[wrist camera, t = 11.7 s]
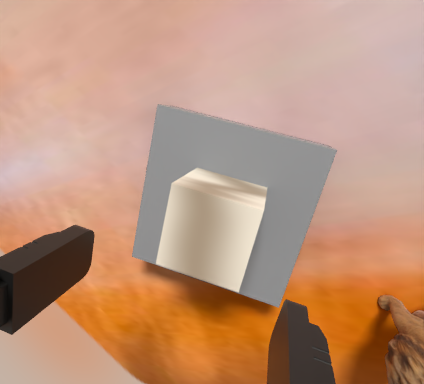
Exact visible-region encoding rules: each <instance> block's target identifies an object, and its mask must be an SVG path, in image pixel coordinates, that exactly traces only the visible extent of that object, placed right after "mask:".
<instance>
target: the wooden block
mask: <svg viewBox="0 0 424 384" xmlns="http://www.w3.org/2000/svg"><path fill="white" fill-rule="evenodd" d="M266 194H267V187H264V186H260V185H257V184H253V183H249V182H246V181H242V180H239V179H235V178H232V177H228V176H225V175H221V174H218V173H214V172H211V171H207V170H204V169H200V168H196V169H194V170H193V171H191V172H189V173H188V174H186V175H184V176H183V177H181V178H179V179H178V180H176V181H174V182H173V183H172V184H171V189H170V194H169V199H168V204H167V209H166V214H165V219H164V224H163V229H162V235H161V240H160V245H159V250H158V255H157V260H156V264H157V265H160V266H163V267H166V268H169V269H172V270H175V271H178V272H181V273H183V274H186V275H189V276H192V277H195V278H198V279H201V280H204V281H207V282H209V283H212V284H215V285H218V286H221V287H224V288H227V289H230V290H233V291H235V292H238V293H239V290H240V286H241V283H242V280H243V277H244V274H245V270H246V267H247V264H248V261H249V257H250V254H251V251H252V248H253V245H254V241H255V238H256V235H257V232H258V229H259V225H260V222H261V219H262V216H263V212H264V208H265V201H266Z"/></svg>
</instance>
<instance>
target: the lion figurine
mask: <svg viewBox="0 0 424 384" xmlns="http://www.w3.org/2000/svg"><path fill="white" fill-rule="evenodd" d="M378 303H379V306H380V307H381V308H382V309H384V310H386V311H388V310H390V311H391V314H392V318H393V321H394V324H395V326H396V327H397V329H398V331H399V334H396V335H395V336H394V339H391V341H390V342H389V343H388V350H389V352H388V353H387V354H386V355H385V363H386V367H387V378H388V384H424V311H421V310H418V311H415V312H414V313H412V314H411V313H410V312H409V311H408V310H407V309H406V308H405V307H404V305H403V303H402V302H401V301H400V300H398V299H396V298H395V297H393V296H390V295H382V296H380V297H379V299H378Z"/></svg>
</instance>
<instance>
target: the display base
mask: <svg viewBox="0 0 424 384" xmlns="http://www.w3.org/2000/svg"><path fill="white" fill-rule="evenodd" d="M336 152H337V150H336V149H334V148H332V147H330V146H328V145H324V144H320V143H316V142H312V141H308V140H304V139H300V138H296V137H292V136H288V135H284V134H280V133H276V132H273V131H269V130H265V129H261V128H257V127H253V126H249V125H245V124H241V123H237V122H233V121H229V120H225V119H222V118H218V117H214V116H210V115H206V114H202V113H198V112H194V111H190V110H186V109H182V108H178V107H174V106H168V105H159V104H158V106H157V112H156V118H155V123H154V129H153V135H152V141H151V147H150V153H149V159H148V165H147V171H146V177H145V182H144V188H143V194H142V200H141V206H140V212H139V218H138V224H137V230H136V236H135V242H134V247H133V253H132V257H135V258H138V259H141V260H144V261H146V262H149V263H152V264H155V265H157V264H156V260H157V255H158V250H159V245H160V240H161V235H162V229H163V224H164V219H165V214H166V209H167V204H168V199H169V194H170V189H171V184H172V183H173V182H174V181H176V180H178V179H179V178H181V177H183V176H184V175H186V174H188V173H189V172H191V171H193V170H194V169H196V168H200V169H204V170H207V171H211V172H214V173H218V174H221V175H225V176H228V177H232V178H235V179H239V180H242V181H246V182H249V183H253V184H257V185H260V186H264V187H267V194H266V201H265V208H264V212H263V216H262V219H261V222H260V225H259V229H258V232H257V235H256V238H255V241H254V245H253V248H252V251H251V254H250V257H249V261H248V264H247V267H246V270H245V274H244V277H243V280H242V283H241V286H240V290H239V293H238V292H236V293H238V294H241V295H244V296H247V297H250V298H253V299H256V300H259V301H261V302H264V303H267V304H270V305H273V306H276V307H279V305H280V303H281V300H282V297H283V295H284V292H285V289H286V287H287V284H288V281H289V278H290V276H291V273H292V270H293V268H294V265H295V262H296V260H297V257H298V254H299V251H300V249H301V246H302V243H303V241H304V238H305V235H306V233H307V230H308V227H309V225H310V222H311V219H312V216H313V214H314V211H315V208H316V206H317V203H318V200H319V198H320V195H321V192H322V189H323V187H324V184H325V181H326V179H327V176H328V173H329V171H330V168H331V165H332V162H333V160H334V157H335V154H336ZM158 266H160V265H158ZM161 267H163V266H161ZM164 268H166V267H164ZM167 269H169V268H167ZM169 270H172V269H169ZM172 271H175V270H172ZM175 272H178V271H175ZM178 273H181V272H178ZM181 274H183V273H181ZM184 275H186V274H184ZM187 276H189V275H187ZM190 277H192V276H190ZM192 278H195V277H192ZM195 279H198V278H195ZM198 280H201V279H198ZM201 281H204V280H201ZM204 282H207V281H204ZM207 283H209V282H207ZM210 284H212V283H210ZM213 285H215V284H213ZM215 286H218V285H215ZM218 287H221V286H218ZM221 288H224V287H221ZM224 289H227V288H224ZM227 290H230V289H227ZM230 291H233V290H230ZM233 292H235V291H233Z"/></svg>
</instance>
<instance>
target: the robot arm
mask: <svg viewBox="0 0 424 384" xmlns="http://www.w3.org/2000/svg"><path fill="white" fill-rule="evenodd" d="M93 243H94V232H93V231H92V230H89V229H86V228H83V227H80V226H78V225H73V226H71V227H69V228H67V229H65V230H63V231H61V232H56V233H52V234H48V235H44V236H42V237H40V238H38V239H36V240H34V241H33V242H32V243H31V242H30V243H28V244H26V245H24V246H23V247H20V248H17V249H15V250H13V251H11V252H9V253H7V254H5V255H3V256H1V257H0V330H2V331H5V332H7V333H9V334H11V335H12V334H13V333H15V332H16V331H17V330H19V329H20V328H21V327H22V326H23V325H25V324H26V323H27V322H29V321H30V320H31V319H32V318H34V317H35V316H36V315H37V314H38V313H40V312H41V311H42V310H43V309H45V308H46V307H47V306H48V305H50V304H51V303H52V302H54V301H55V300H56V299H57V298H59V297H60V296H61V295H62V294H64V293H65V292H66V291H67V290H69V289H70V288H71V287H72V286H74V285H75V284H76V283H77V282H79V281H80V280H81V279H82V278H83V277H84V276H85V275H86V274H87V272H88V270H89V268H90V266H91V260H92V252H93ZM267 384H336V383H335V378H334V373H333V368H332V366H331V359H330V355H329V349H328V344H327V339H326V338H325V336H324V334H323V333H322V331H321V330H320V328H319V326H317V325H314V324H311V323H309V319H308V312H307V307H306V306H303V305H301V304H298V303H295V302H292V301H289V300H285V301H284V303H283V306H282V309H281V311H280V314H279V316H278V319H277V322H276V324H275V327H274V330H273V332H272V336H271V340H270V344H269V354H268V372H267Z"/></svg>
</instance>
